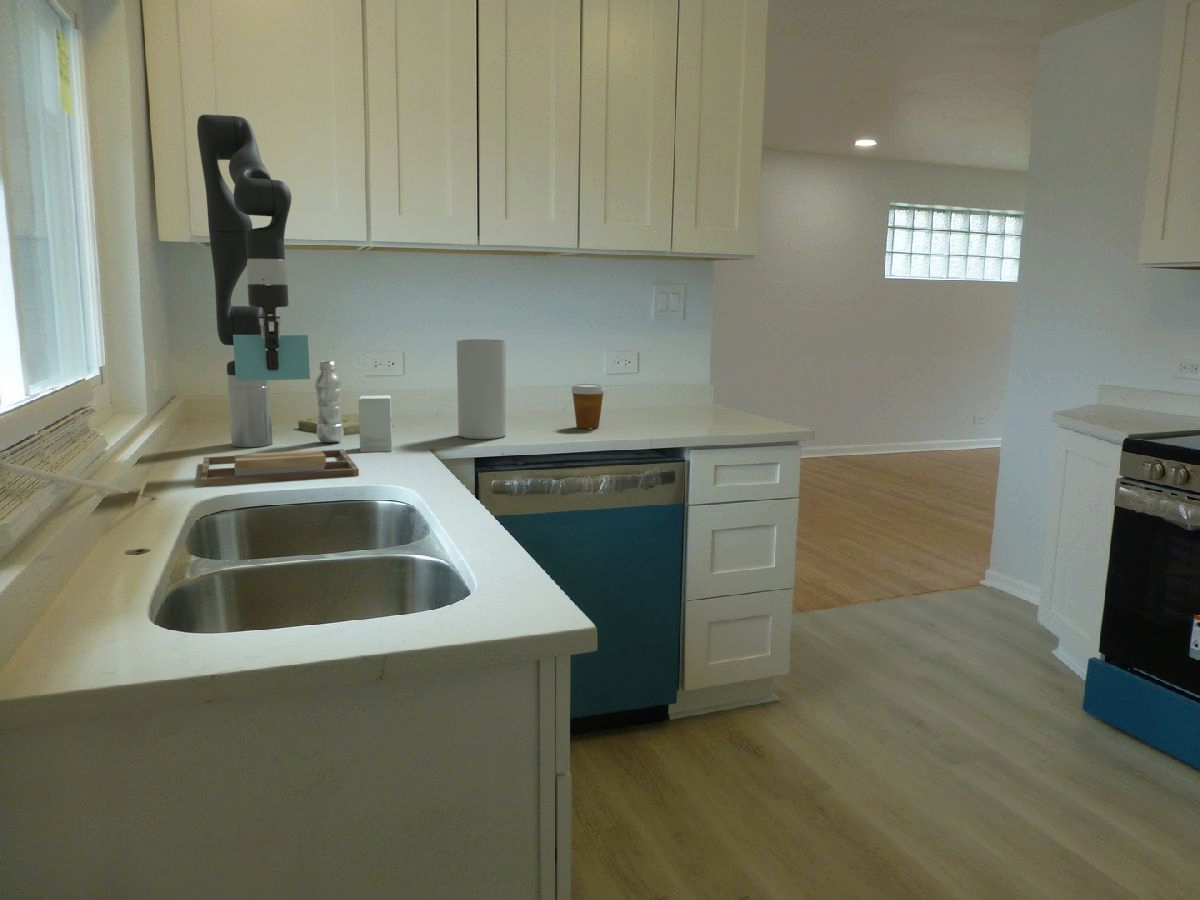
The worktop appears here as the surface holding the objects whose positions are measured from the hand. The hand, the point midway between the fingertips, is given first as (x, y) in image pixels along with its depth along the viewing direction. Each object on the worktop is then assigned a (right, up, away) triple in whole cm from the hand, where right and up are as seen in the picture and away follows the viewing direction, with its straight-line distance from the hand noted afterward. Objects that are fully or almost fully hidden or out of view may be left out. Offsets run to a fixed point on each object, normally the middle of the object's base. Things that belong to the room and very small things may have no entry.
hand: (272, 369), depth 174 cm
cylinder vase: (+36, -13, +51) cm, 64 cm away
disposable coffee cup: (+63, -10, +68) cm, 93 cm away
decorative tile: (-3, -11, +63) cm, 64 cm away
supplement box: (+13, -17, +30) cm, 37 cm away
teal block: (0, -2, 0) cm, 2 cm away
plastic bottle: (0, -15, +39) cm, 42 cm away
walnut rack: (+1, -21, 0) cm, 21 cm away
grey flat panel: (+4, -21, -7) cm, 23 cm away
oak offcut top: (+5, -19, -8) cm, 21 cm away
